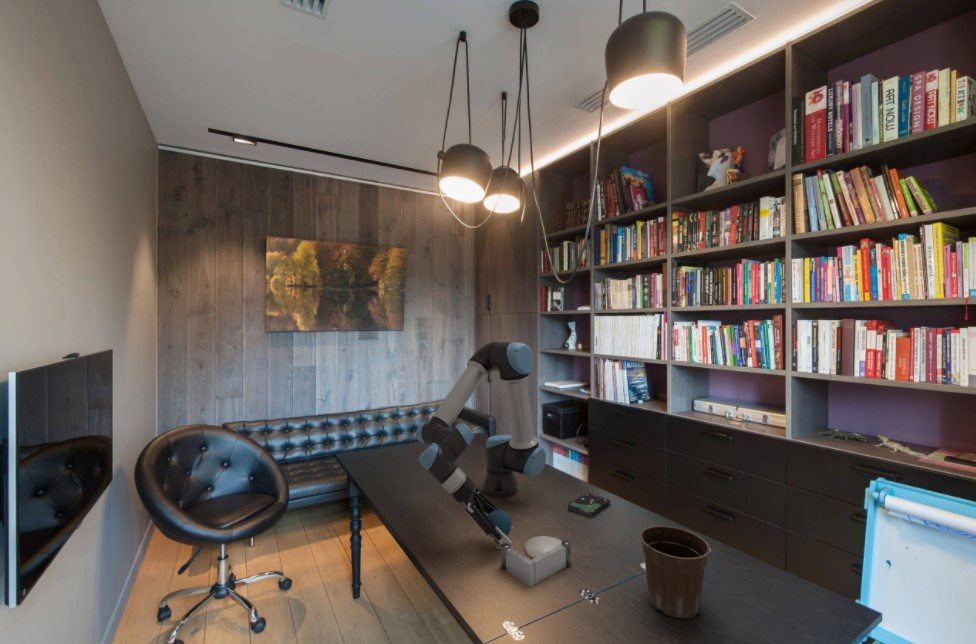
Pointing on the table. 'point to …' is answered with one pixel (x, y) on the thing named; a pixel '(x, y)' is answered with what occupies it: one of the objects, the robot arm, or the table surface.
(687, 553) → the plant pot
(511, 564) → the bent rail
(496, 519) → the dark blue rounded piece
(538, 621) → the table surface
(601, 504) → the disk drive
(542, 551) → the coaster
